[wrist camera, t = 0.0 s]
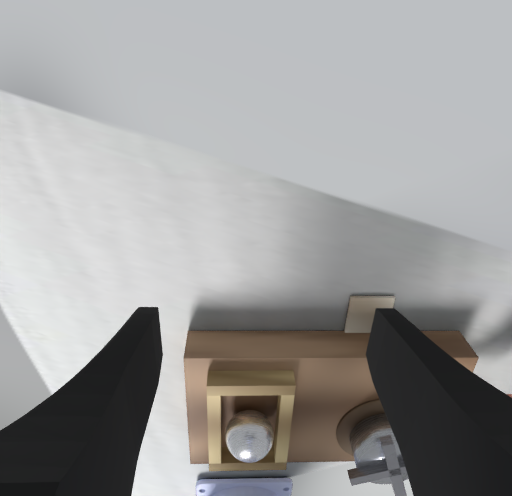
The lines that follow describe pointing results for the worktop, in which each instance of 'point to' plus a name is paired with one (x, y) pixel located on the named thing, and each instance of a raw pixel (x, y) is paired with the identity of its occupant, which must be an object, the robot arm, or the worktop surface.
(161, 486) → the worktop surface
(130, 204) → the worktop surface
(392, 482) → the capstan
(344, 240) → the worktop surface
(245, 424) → the level ball
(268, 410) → the stand
